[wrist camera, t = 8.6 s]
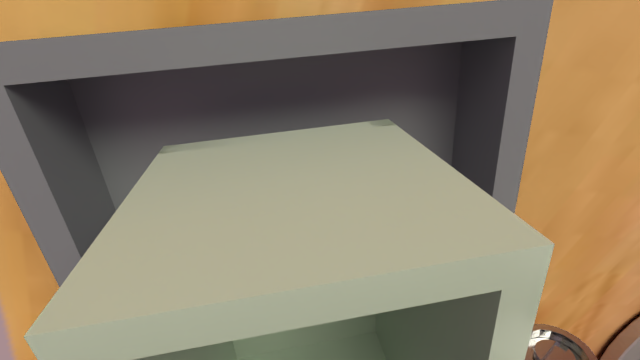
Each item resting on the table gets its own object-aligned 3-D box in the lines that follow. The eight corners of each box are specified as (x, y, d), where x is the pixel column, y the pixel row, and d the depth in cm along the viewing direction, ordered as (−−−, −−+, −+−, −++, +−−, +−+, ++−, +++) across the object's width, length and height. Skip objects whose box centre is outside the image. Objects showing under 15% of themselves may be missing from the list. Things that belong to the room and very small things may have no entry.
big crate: (476, 2, 14) (554, -5, 10) (448, 282, 19) (490, 342, 16) (36, 39, 12) (-61, 47, 8) (151, 334, 18) (123, 413, 14)
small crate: (388, 118, 10) (553, 243, 4) (386, 327, 13) (477, 542, 8) (163, 146, 9) (22, 337, 4) (223, 358, 12) (198, 619, 7)
